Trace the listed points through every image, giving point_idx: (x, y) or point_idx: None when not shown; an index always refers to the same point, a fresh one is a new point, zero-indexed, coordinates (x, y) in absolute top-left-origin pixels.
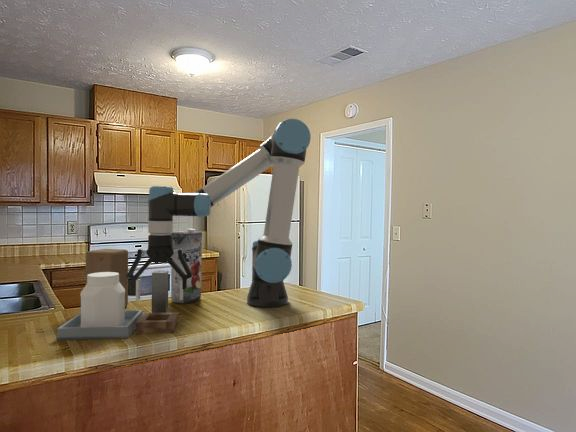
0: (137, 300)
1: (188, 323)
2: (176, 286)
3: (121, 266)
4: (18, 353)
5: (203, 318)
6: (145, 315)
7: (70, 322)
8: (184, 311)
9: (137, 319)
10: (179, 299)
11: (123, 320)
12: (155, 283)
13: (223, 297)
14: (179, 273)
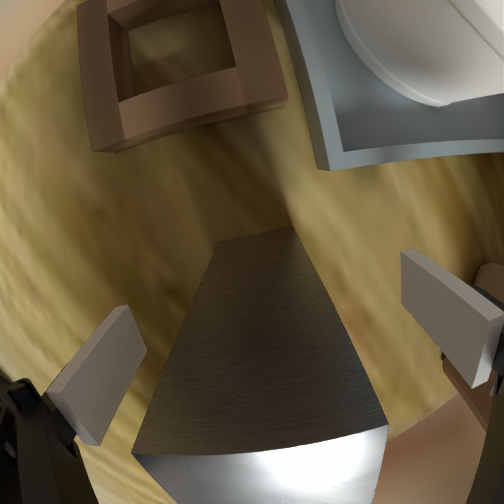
0: (405, 251)
1: (72, 148)
2: None
3: None
4: None
5: (49, 236)
6: (253, 48)
7: None
8: (170, 338)
9: (295, 45)
10: None
11: (345, 5)
12: (297, 332)
13: (140, 475)
14: (34, 442)
